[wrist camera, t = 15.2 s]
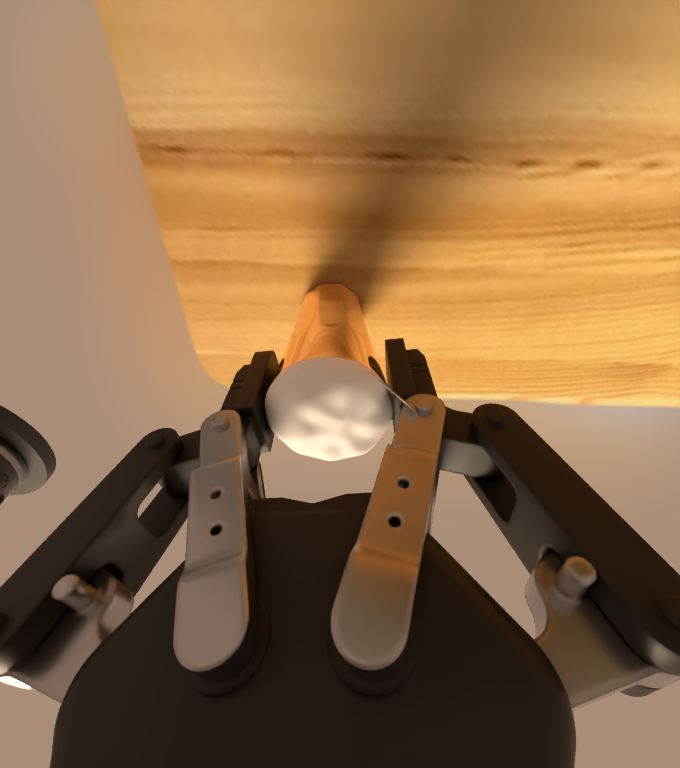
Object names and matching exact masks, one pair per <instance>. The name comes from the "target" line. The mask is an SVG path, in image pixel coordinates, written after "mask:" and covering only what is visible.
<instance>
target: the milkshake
mask: <svg viewBox="0 0 680 768" xmlns="http://www.w3.org/2000/svg"><path fill="white" fill-rule="evenodd" d="M390 393H391V394H392V395H393V396H394V395H395V396H396V397H397V399H398V400H399V401H400V402H401V403H402V404H405V405H406V406H407V407H408V408H409V409H410V410H411V411H412V412H413V413H414V414H415V415H416V416H418V414H417V413H416V411H415V410H414V409H413V408H412V407H411V406H410V405H409V404H407V403H406V402H405V401H404V400H403V399H402V398H400V397H399V396H398V395H397V394H396V393H395V392H394V391H392V390H391V389H390V388H389V387H388V386H387V383H386V381H385V378H384V375H383V372H382V370H381V367H380V364H379V361H378V359H377V356H376V354H375V351H374V349H373V346H372V344H371V341H370V338H369V335H368V332H367V329H366V325H365V322H364V318H363V315H362V312H361V308H360V305H359V301H358V298H357V295H355V294H354V293H353V292H351V291H350V290H348V289H347V288H346V287H344V286H343V285H342V284H320V285H319V286H318V287H316V288H315V289H313V290H312V291H311V292H309V293H308V294H306V296H305V298H304V301H303V304H302V307H301V310H300V313H299V316H298V319H297V321H296V324H295V327H294V330H293V333H292V336H291V338H290V341H289V343H288V345H287V348H286V350H285V352H284V354H283V357H282V359H281V362H280V364H279V366H278V369H277V371H276V374H275V376H274V378H273V381H272V383H271V386H270V388H269V390H268V392H267V394H266V398H265V411H266V416H267V420H268V423H269V426H270V428H271V430H272V431H273V433H274V434H275V435H276V436H277V437H278V438H279V439H280V440H281V441H283V442H284V443H285V444H286V445H287V446H288V447H289V448H291V449H292V450H293V451H295V452H297V453H299V454H302V455H306V456H311V457H315V458H318V459H321V460H326V461H335V460H341V459H345V458H349V457H354V456H359V455H363V454H365V453H367V452H368V451H369V450H370V449H372V448H373V447H374V446H375V445H376V444H377V443H378V442H379V440H380V439H381V437H382V436H383V434H384V432H385V431H386V429H387V427H388V426H389V424H390V422H391V419H392V416H393V402H392V397H391V394H390Z"/></svg>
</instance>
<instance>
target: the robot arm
mask: <svg viewBox="0 0 680 768" xmlns="http://www.w3.org/2000/svg"><path fill="white" fill-rule="evenodd" d="M385 356H386V375H387V385H388V387H389V388H390V389H391V390H392V391H394V392H395V393H396V394H397V395H398V396H399V397H400V398H402V399H403V400H404V401H405V402H406V403H407V404H409V405H410V406H411V407H412V408H413V409H414V410H415V411H416V413H417V414H418V416H416V415H415V414H414V413H413V412H412V411H411V410H410V409H409V408H408V407H407V406H406V405H405V404H402V403H401V402H400V401H399V400H398V399H397V397H396V396H395V395H394V396H393V395H392V394H391V393H390V394H391V397H392V402H393V416H392V420H393V426H394V433H395V435H394V438H393V441H392V444H391V445H389V444H388V445H387V447H386V449H385V452H384V456H383V459H382V462H381V466H380V469H379V472H378V475H377V478H376V481H375V485H374V488H373V492H372V493H356V494H345V495H341V496H337V497H334V498H331V499H327V500H324V501H321V502H317V503H307V502H302V501H297V500H291V499H286V498H266V497H265V490H264V483H263V476H262V470H261V464H260V462H259V457H260V453H263V452H270V451H271V447H272V442H273V438H274V433H273V431H272V430H271V428H270V426H269V423H268V420H267V416H266V411H265V398H266V394H267V392H268V390H269V388H270V386H271V383H272V381H273V378H274V376H275V374H276V371H277V369H278V366H279V365H278V361H277V358H276V354H275V352H274V351H263V352H255V354H254V356H253V359H252V361H251V364H250V365H244V366H243V367H242V368H241V369H240V370H239V371H238V372H237V373H236V375H235V378H234V380H233V383H232V384H231V387H230V390H229V391H228V394H227V396H226V398H225V401H224V403H223V405H222V408H221V410H220V411H219V412H216V413H214V414H212V415H210V416H209V417H208V418H207V419H205V421H204V422H203V423H202V426H201V430H198V431H195V432H192V433H189V434H186V435H183V436H179V435H178V434H177V432H176V431H175V430H174V429H171V428H162V429H158V430H156V431H153V432H151V433H149V434H148V435H146V436H145V437H144V438H143V439H142V440H141V441H140V442H139V443H138V444H137V445H136V446H135V447H134V448H133V449H132V450H131V451H130V452H129V453H128V454H127V455H126V456H125V458H123V459H122V460H121V461H120V463H119V464H118V465H117V466H116V467H115V468H114V469H113V470H112V471H111V472H110V473H109V474H108V475H107V476H106V477H105V478H104V479H103V480H102V481H101V482H100V484H99V485H98V486H97V487H96V488H95V489H94V490H93V491H92V492H91V493H90V494H89V495H88V496H87V497H86V498H85V499H84V500H83V501H82V503H80V505H78V507H77V508H76V509H75V510H74V511H73V512H72V513H71V514H70V515H69V516H68V517H67V518H66V519H65V520H64V521H63V522H62V523H61V524H60V525H59V526H58V527H57V529H56V530H55V531H54V532H53V533H52V534H51V535H50V536H49V537H48V538H47V539H46V540H45V541H44V542H43V543H42V544H41V545H40V546H39V547H38V548H37V549H36V551H35V552H34V553H33V554H32V555H31V556H30V557H29V558H28V559H27V560H26V561H25V562H24V563H23V564H22V565H21V566H20V567H19V568H18V570H16V571H15V573H14V574H13V575H12V576H11V577H10V578H9V579H8V580H7V581H6V582H5V583H4V584H3V585H2V586H1V587H0V682H1V683H5V684H8V685H11V686H14V687H18V688H21V689H32V690H35V691H39V692H41V693H43V694H45V695H47V696H49V697H51V698H52V699H54V700H56V701H58V702H60V703H61V706H60V709H59V712H58V716H57V720H56V724H55V728H54V737H53V746H52V756H51V762H50V768H574V763H575V752H576V731H575V723H574V717H573V712H572V711H573V710H576V709H578V708H581V707H583V706H585V705H588V704H590V703H593V702H595V701H598V700H600V699H602V698H605V697H607V696H610V695H612V694H615V693H617V692H621V693H624V694H626V695H629V696H633V697H634V696H635V697H642V696H646V695H648V694H650V693H653V692H655V691H657V690H659V689H661V688H663V687H666V686H668V685H670V684H672V683H674V682H676V681H678V680H680V575H679V574H678V573H677V572H676V571H675V570H674V569H673V568H672V567H671V566H670V565H669V564H668V563H667V562H666V561H665V560H664V559H663V558H662V557H661V556H660V555H659V554H658V553H657V552H656V551H655V550H654V549H653V548H652V547H651V546H650V545H649V544H648V543H647V542H646V541H645V540H644V539H643V538H642V537H640V535H638V533H637V532H636V531H635V530H634V529H633V528H632V527H631V526H630V525H628V523H627V522H625V521H624V519H622V518H621V516H619V515H618V514H617V513H616V512H615V511H614V510H613V509H612V508H611V507H610V506H609V505H608V504H607V503H606V502H605V501H604V500H603V499H602V498H601V497H600V496H599V495H598V494H597V493H596V492H595V491H594V490H593V489H592V488H591V487H590V486H589V485H588V484H587V483H586V482H585V481H584V480H583V479H582V478H581V477H580V476H579V475H578V474H577V473H576V472H575V471H574V470H573V469H572V468H571V467H570V466H569V465H568V464H567V463H566V462H565V461H564V460H563V459H562V458H561V457H560V456H559V455H558V454H557V453H556V452H555V451H554V450H553V449H552V448H551V447H550V446H549V445H548V444H547V443H546V442H545V441H544V440H543V439H542V438H541V437H539V435H538V434H537V433H536V432H535V431H534V430H533V429H532V428H531V427H530V426H528V424H527V423H526V422H525V421H524V420H523V419H522V418H521V417H520V416H519V415H518V414H517V413H516V412H514V411H513V410H512V409H510V408H508V407H506V406H503V405H499V404H484V405H481V406H479V407H477V408H476V409H475V410H474V411H473V413H467V412H460V411H456V410H452V409H450V408H448V407H446V406H445V404H444V402H443V401H442V400H441V399H439V398H438V397H437V394H436V391H435V387H434V384H433V381H432V378H431V375H430V373H429V368H428V366H427V362H426V359H425V356H424V355H423V354H422V353H421V352H420V351H419V350H418V349H412V350H406V348H405V344H404V340H403V338H399V339H389V340H385ZM440 470H444V471H449V472H453V473H458V474H463V475H464V476H465V478H466V480H467V481H468V482H469V484H470V485H471V487H472V488H473V490H474V491H475V493H476V494H477V496H478V497H479V499H480V500H481V502H482V503H483V505H484V506H485V508H486V509H487V511H488V512H489V514H490V515H491V517H492V518H493V519H494V521H495V523H496V524H497V526H498V527H499V529H500V530H501V532H502V533H503V535H504V536H505V538H506V539H507V541H508V542H509V544H510V545H511V547H512V548H513V549H514V551H515V552H516V554H517V555H518V557H519V558H520V560H521V561H522V563H523V564H524V566H525V567H526V569H527V570H528V572H529V573H530V575H531V576H530V578H529V579H528V581H527V584H526V587H525V597H526V601H527V604H528V607H529V609H530V611H531V613H532V615H533V618H534V621H535V626H536V636H535V639H533V638H532V637H531V636H530V635H529V634H528V633H527V632H526V631H525V630H524V629H523V628H522V627H521V626H520V625H519V624H518V623H517V622H516V621H515V620H514V619H513V618H512V617H511V616H510V615H509V614H508V613H507V612H506V611H505V610H504V609H503V608H502V607H501V606H500V605H499V604H498V603H497V602H496V601H495V600H494V599H493V598H492V597H491V596H490V595H489V594H488V593H487V592H486V591H485V590H484V589H483V588H482V587H481V586H480V585H479V584H478V582H477V581H476V580H475V579H474V578H473V577H472V576H471V575H470V574H469V573H468V572H467V571H466V570H465V569H463V567H462V566H461V565H460V564H459V563H458V562H457V561H456V560H455V559H454V558H453V557H452V556H451V555H450V554H449V553H448V552H447V551H446V550H445V549H444V548H443V547H442V546H441V545H440V544H439V543H438V542H437V541H436V540H435V539H434V538H433V537H432V536H431V528H432V521H433V513H434V505H435V498H436V491H437V485H438V478H439V471H440ZM27 476H28V466H27V463H26V461H25V460H24V458H23V457H22V455H21V454H20V453H19V452H18V451H17V450H16V449H15V448H14V447H13V446H12V445H11V444H10V443H9V442H7V441H6V440H5V439H3V438H2V437H0V509H1V507H2V505H3V504H4V502H5V500H6V499H7V497H8V496H9V495H10V494H11V493H12V492H14V491H15V490H16V489H17V488H18V487H19V486H20V485H21V484H22V483H23V482H24V480H25V479H26V478H27ZM158 482H159V484H160V485H161V486H162V489H161V490H160V491H159V493H158V494H157V495H156V497H155V498H154V499H153V500H152V502H151V503H150V504H149V506H148V507H147V508H146V509H145V511H144V512H143V513H142V514H141V516H140V517H139V518H138V516H137V512H138V508H139V506H140V504H141V503H142V501H143V500H144V499H145V498H146V496H147V495H148V494H149V493H150V491H151V490H152V489H153V488H154V486H155V485H156V484H157V483H158ZM187 517H188V523H187V538H186V555H185V560H184V561H183V562H182V563H181V565H179V567H177V569H175V570H174V571H173V572H172V573H171V574H170V575H169V576H168V578H166V579H165V581H163V582H162V584H160V585H159V586H158V587H157V588H156V589H155V590H154V591H153V592H152V593H151V594H150V595H149V596H148V597H147V598H146V599H145V600H144V601H143V602H142V603H141V604H140V605H139V606H138V608H136V609H135V610H134V611H133V612H132V613H131V611H132V608H133V604H134V596H135V595H136V593H137V592H138V591H139V589H140V588H141V586H142V585H143V583H144V582H145V580H146V579H147V577H148V576H149V574H150V573H151V571H152V569H153V568H154V567H155V565H156V564H157V562H158V561H159V559H160V558H161V556H162V555H163V553H164V552H165V550H166V549H167V547H168V546H169V544H170V543H171V541H172V540H173V538H174V537H175V535H176V534H177V532H178V531H179V529H180V528H181V526H182V525H183V523H184V522H185V520H186V519H187Z"/></svg>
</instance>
